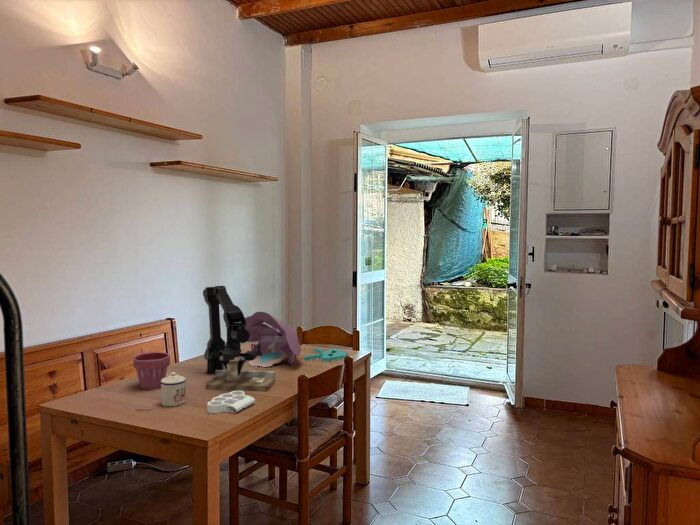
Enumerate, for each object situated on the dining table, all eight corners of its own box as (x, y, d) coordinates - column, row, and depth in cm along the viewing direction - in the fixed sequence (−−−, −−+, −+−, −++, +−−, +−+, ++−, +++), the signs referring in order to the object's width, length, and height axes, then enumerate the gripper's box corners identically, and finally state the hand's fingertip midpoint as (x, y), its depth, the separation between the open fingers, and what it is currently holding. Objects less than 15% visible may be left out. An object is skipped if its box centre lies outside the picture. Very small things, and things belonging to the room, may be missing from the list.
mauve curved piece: (231, 374, 243) (219, 320, 237) (253, 354, 265) (242, 304, 259) (296, 373, 232) (286, 317, 226) (313, 352, 254) (304, 300, 248)
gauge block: (227, 380, 208) (226, 364, 207) (231, 376, 214) (231, 360, 213) (236, 380, 207) (236, 364, 207) (240, 376, 213) (240, 360, 213)
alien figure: (304, 360, 252) (342, 363, 248) (304, 356, 252) (342, 358, 248) (314, 351, 271) (350, 353, 267) (314, 347, 271) (350, 349, 267)
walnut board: (205, 389, 203) (205, 378, 203) (216, 380, 216) (216, 370, 216) (268, 391, 201) (268, 380, 201) (275, 381, 214) (275, 371, 214)
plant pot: (151, 393, 198) (150, 361, 197) (126, 388, 204) (125, 357, 203) (177, 383, 211) (177, 354, 210) (153, 379, 217) (152, 350, 216)
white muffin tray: (230, 418, 173) (197, 411, 179) (260, 402, 189) (229, 397, 195) (230, 408, 172) (197, 402, 178) (260, 393, 189) (229, 388, 195)
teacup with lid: (176, 408, 181) (176, 376, 180) (155, 405, 184) (155, 374, 183) (195, 397, 193) (195, 368, 192) (175, 395, 195) (174, 366, 194)
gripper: (205, 342, 202) (205, 380, 203) (249, 343, 201) (250, 381, 202) (214, 337, 213) (215, 372, 214) (257, 337, 212) (257, 373, 213)
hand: (233, 375), depth 210 cm, fingers closed on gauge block, 4 cm apart
